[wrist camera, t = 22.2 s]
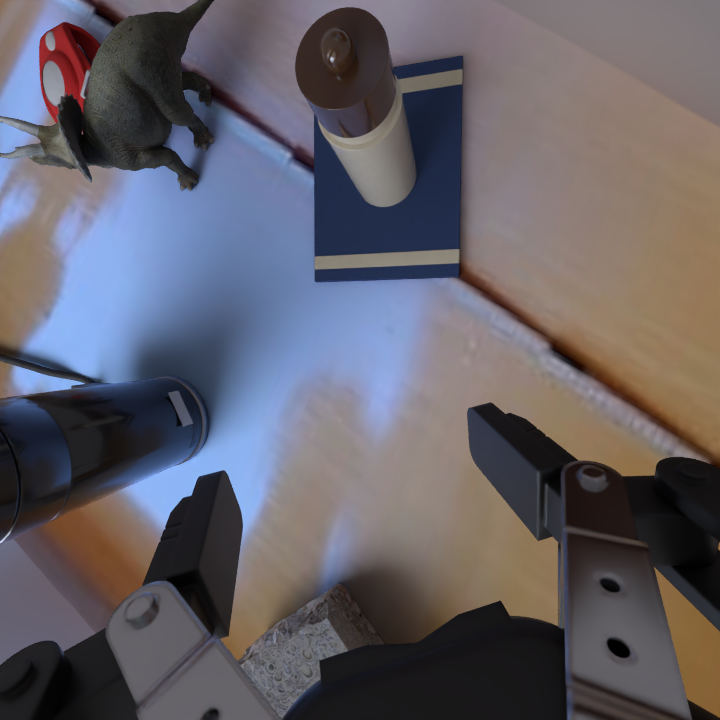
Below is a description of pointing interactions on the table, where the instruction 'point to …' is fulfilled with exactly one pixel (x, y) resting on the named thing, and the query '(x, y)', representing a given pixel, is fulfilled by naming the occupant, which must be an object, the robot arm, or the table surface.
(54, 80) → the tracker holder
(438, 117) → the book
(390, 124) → the pepper mill
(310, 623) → the geological specimen
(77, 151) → the toy dinosaur
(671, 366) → the table surface
